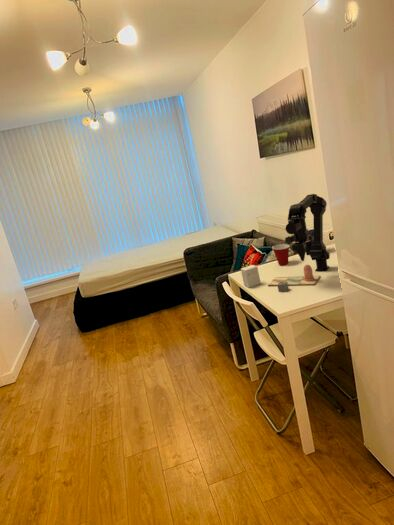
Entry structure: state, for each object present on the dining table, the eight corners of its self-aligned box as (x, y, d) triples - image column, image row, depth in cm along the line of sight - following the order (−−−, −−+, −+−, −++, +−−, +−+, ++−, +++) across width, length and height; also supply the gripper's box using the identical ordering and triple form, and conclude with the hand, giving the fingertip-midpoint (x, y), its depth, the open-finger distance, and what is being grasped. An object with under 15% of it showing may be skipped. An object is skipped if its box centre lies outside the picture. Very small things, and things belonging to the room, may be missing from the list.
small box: (256, 281, 222) (252, 264, 220) (261, 283, 217) (257, 266, 215) (244, 286, 220) (240, 268, 218) (248, 288, 215) (245, 270, 212)
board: (275, 278, 220) (275, 277, 220) (320, 276, 206) (320, 275, 206) (267, 286, 210) (267, 285, 210) (314, 285, 196) (314, 283, 196)
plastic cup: (293, 265, 236) (290, 246, 233) (275, 268, 238) (272, 249, 235) (292, 260, 246) (289, 242, 243) (275, 263, 248) (271, 245, 245)
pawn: (306, 278, 207) (303, 263, 205) (315, 278, 204) (312, 263, 202) (303, 281, 203) (301, 266, 201) (312, 281, 200) (310, 266, 198)
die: (281, 289, 202) (280, 282, 201) (288, 288, 200) (287, 281, 199) (278, 292, 199) (277, 284, 198) (286, 291, 197) (284, 284, 196)
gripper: (291, 226, 209) (295, 253, 212) (279, 235, 194) (284, 264, 198) (311, 223, 203) (316, 252, 206) (301, 233, 188) (306, 263, 191)
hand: (305, 257), depth 201 cm, fingers open, 9 cm apart
